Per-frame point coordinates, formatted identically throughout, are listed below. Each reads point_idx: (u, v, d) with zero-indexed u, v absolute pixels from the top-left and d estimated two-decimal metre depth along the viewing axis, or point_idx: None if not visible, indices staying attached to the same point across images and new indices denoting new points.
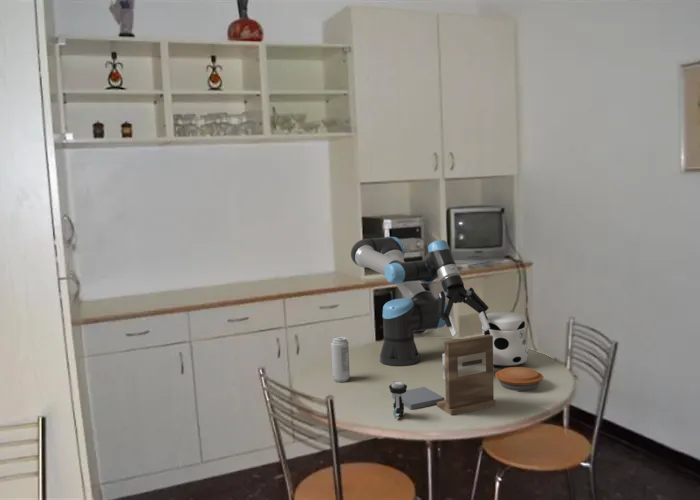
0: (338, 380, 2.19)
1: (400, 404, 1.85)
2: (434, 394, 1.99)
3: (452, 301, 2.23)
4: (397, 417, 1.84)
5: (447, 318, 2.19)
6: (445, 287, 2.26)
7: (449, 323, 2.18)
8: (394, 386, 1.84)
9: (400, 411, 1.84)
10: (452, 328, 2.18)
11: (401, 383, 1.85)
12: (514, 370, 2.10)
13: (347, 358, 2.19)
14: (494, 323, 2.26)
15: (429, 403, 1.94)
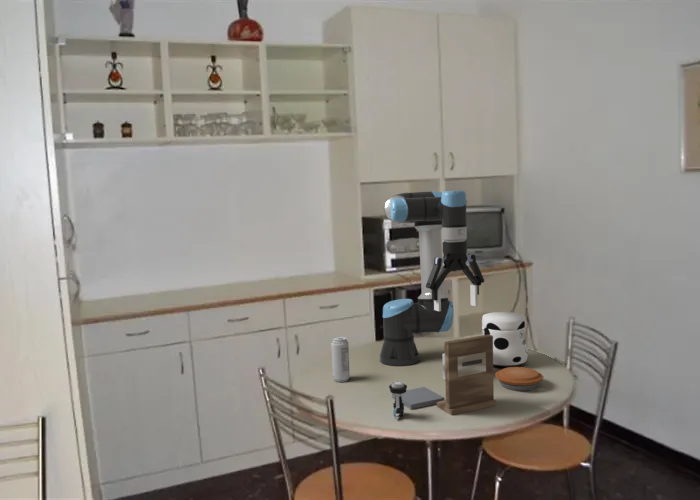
0: (338, 380, 2.19)
1: (400, 404, 1.85)
2: (434, 394, 1.99)
3: (447, 272, 1.93)
4: (397, 417, 1.84)
5: (435, 291, 1.92)
6: (445, 251, 1.93)
7: (435, 298, 1.92)
8: (394, 386, 1.84)
9: (400, 411, 1.84)
10: (437, 303, 1.93)
11: (401, 383, 1.85)
12: (514, 370, 2.10)
13: (347, 358, 2.19)
14: (494, 323, 2.26)
15: (429, 403, 1.94)
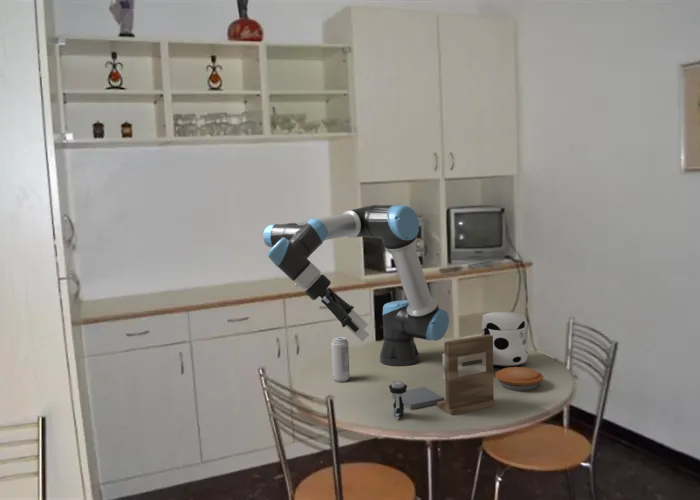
0: (338, 380, 2.19)
1: (400, 404, 1.85)
2: (434, 394, 1.99)
3: None
4: (397, 417, 1.84)
5: None
6: None
7: None
8: (394, 386, 1.84)
9: (400, 411, 1.84)
10: None
11: (401, 383, 1.85)
12: (514, 370, 2.10)
13: (347, 358, 2.19)
14: (494, 323, 2.26)
15: (429, 403, 1.94)
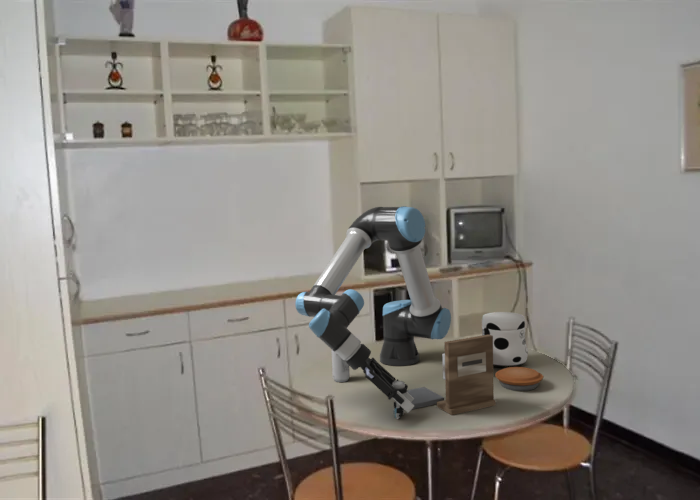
0: (338, 380, 2.19)
1: None
2: (434, 394, 1.99)
3: None
4: (397, 417, 1.83)
5: None
6: None
7: None
8: (395, 386, 1.83)
9: (400, 411, 1.84)
10: None
11: (402, 383, 1.84)
12: (514, 370, 2.10)
13: None
14: (494, 323, 2.26)
15: (429, 403, 1.94)
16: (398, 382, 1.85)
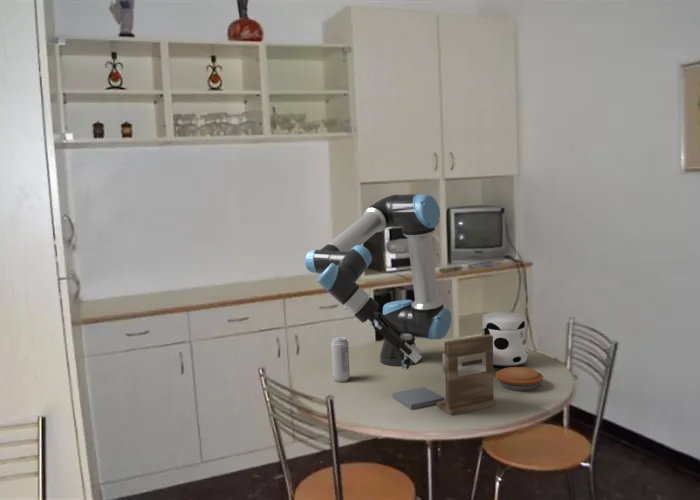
0: (338, 380, 2.19)
1: None
2: (434, 394, 1.99)
3: None
4: (405, 368, 1.88)
5: None
6: None
7: None
8: (402, 338, 1.88)
9: (408, 362, 1.88)
10: None
11: (410, 335, 1.89)
12: (514, 370, 2.10)
13: (347, 358, 2.19)
14: (494, 323, 2.26)
15: (429, 403, 1.94)
16: (405, 334, 1.90)
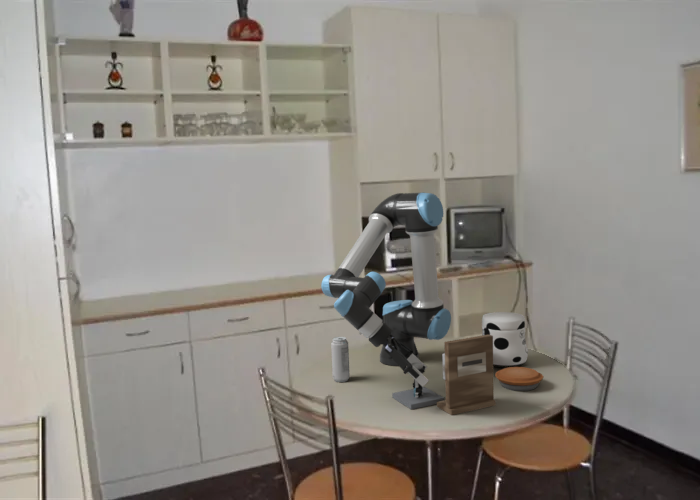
0: (338, 380, 2.19)
1: (419, 384, 1.98)
2: (434, 394, 1.99)
3: None
4: (416, 396, 1.96)
5: None
6: None
7: None
8: None
9: (419, 390, 1.97)
10: None
11: (420, 364, 1.98)
12: (514, 370, 2.10)
13: (347, 358, 2.19)
14: (494, 323, 2.26)
15: (429, 403, 1.94)
16: (416, 363, 1.99)
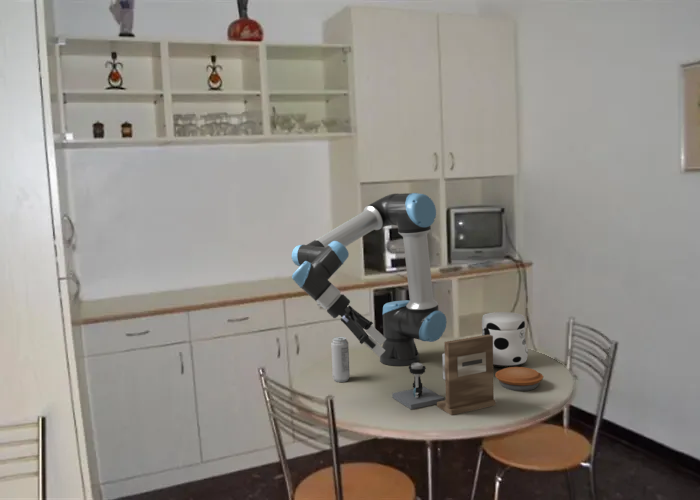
0: (338, 380, 2.19)
1: (419, 384, 1.98)
2: (434, 394, 1.99)
3: None
4: (416, 396, 1.96)
5: None
6: None
7: None
8: (414, 367, 1.97)
9: (419, 390, 1.97)
10: None
11: (420, 364, 1.98)
12: (514, 370, 2.10)
13: (347, 358, 2.19)
14: (494, 323, 2.26)
15: (429, 403, 1.94)
16: (416, 363, 1.98)
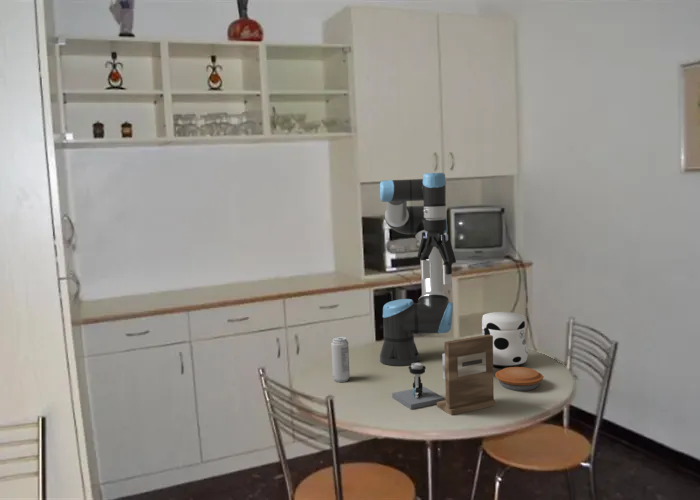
0: (338, 380, 2.19)
1: (419, 384, 1.98)
2: (434, 394, 1.99)
3: (426, 245, 2.15)
4: (416, 396, 1.96)
5: (422, 261, 2.19)
6: None
7: None
8: (414, 367, 1.97)
9: (419, 390, 1.97)
10: None
11: (420, 364, 1.98)
12: (514, 370, 2.10)
13: (347, 358, 2.19)
14: (494, 323, 2.26)
15: (429, 403, 1.94)
16: (416, 363, 1.98)
